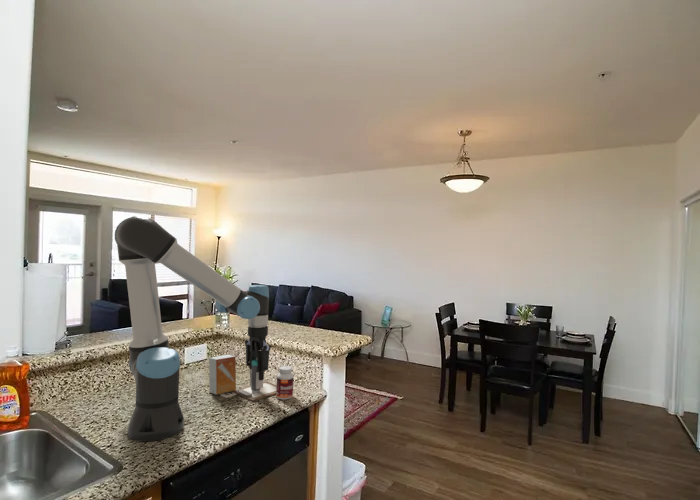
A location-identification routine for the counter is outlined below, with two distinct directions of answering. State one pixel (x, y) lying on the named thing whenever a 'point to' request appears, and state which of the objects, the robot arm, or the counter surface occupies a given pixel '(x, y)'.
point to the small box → (222, 374)
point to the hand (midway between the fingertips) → (256, 386)
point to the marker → (254, 377)
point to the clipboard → (264, 392)
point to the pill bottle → (284, 383)
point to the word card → (228, 394)
